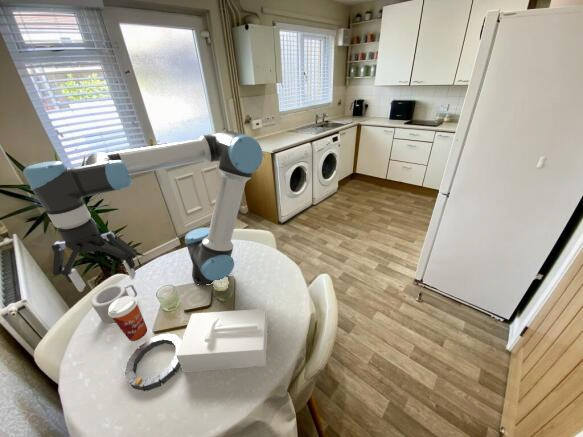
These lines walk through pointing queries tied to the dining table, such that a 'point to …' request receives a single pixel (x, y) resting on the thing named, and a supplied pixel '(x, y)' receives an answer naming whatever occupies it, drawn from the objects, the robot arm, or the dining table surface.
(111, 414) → the dining table surface
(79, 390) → the dining table surface
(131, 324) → the coffee cup
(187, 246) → the robot arm
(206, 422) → the dining table surface
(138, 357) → the grey stone ring
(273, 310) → the dining table surface
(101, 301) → the mug
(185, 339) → the white hammer box
